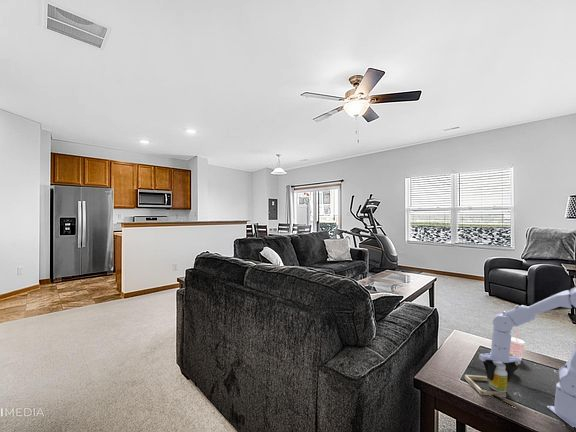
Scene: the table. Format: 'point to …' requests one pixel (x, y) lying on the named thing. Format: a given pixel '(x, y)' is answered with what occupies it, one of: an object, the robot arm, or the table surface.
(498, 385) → the supplement bottle
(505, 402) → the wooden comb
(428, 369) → the table surface
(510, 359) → the robot arm
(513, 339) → the beverage cup
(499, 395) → the ash bracket
